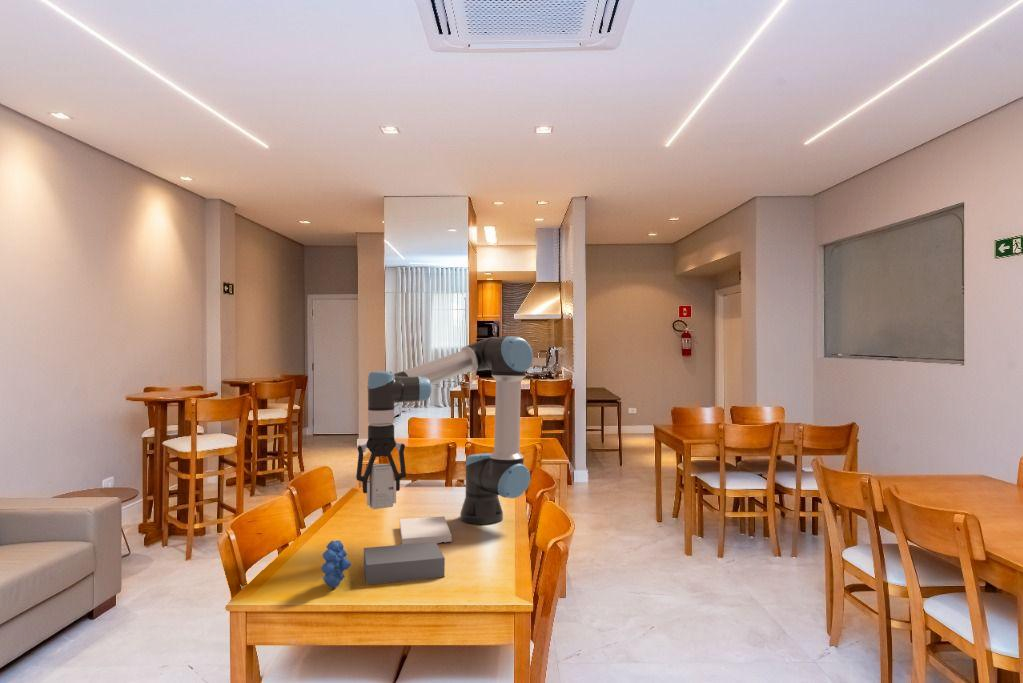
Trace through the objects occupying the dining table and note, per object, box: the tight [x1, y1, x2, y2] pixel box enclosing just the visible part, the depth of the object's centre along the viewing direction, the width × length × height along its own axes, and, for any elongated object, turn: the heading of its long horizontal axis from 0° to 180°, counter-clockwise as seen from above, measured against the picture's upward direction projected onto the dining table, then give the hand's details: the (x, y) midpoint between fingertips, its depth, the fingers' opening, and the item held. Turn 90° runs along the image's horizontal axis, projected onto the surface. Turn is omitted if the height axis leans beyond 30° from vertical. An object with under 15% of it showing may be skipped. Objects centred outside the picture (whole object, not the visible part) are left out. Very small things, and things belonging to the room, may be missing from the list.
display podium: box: [363, 542, 446, 585], centre depth 163 cm, size 20×14×5 cm
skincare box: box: [368, 463, 394, 510], centre depth 176 cm, size 6×4×12 cm
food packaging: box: [399, 515, 452, 545], centre depth 196 cm, size 15×3×20 cm
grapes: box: [320, 539, 352, 589], centre depth 151 cm, size 12×7×12 cm, turn 174°
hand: (381, 503), depth 176 cm, fingers closed on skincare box, 7 cm apart
